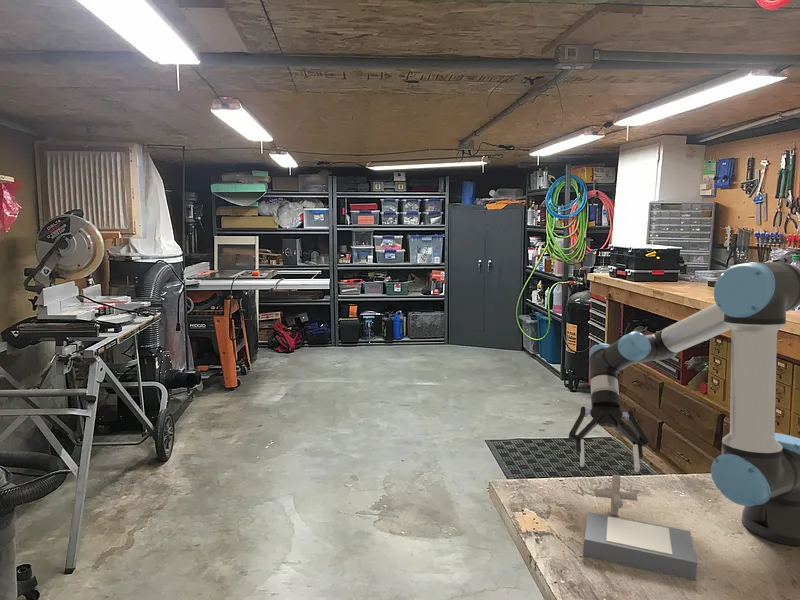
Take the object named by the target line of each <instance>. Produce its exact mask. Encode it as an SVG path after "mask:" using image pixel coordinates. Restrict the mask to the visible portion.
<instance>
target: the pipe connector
mask: <svg viewBox="0 0 800 600" xmlns="http://www.w3.org/2000/svg"><path fill="white" fill-rule="evenodd" d="M621 479H622V478H621V475H619V474H613V475H612V482H610V483H609V484H608V485H607V486H608V490H607V489H597V488H594V491H593V494H594V495H593V496H594V497H599V498H607V499H610V501H611V502H610V515H611V516H619V509H621V508H623V506H624V503H623V500H627V501H638V493H637V492H628V491H621Z"/></svg>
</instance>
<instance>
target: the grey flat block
mask: <svg viewBox="0 0 800 600" xmlns="http://www.w3.org/2000/svg"><path fill="white" fill-rule="evenodd" d="M584 532H585V533H584V537H583V538H584V541H583V555H582V556H583V557H585V558H590V559H595V560H599V561H603V562H609V563H612V564H618V565H620V566H621V565H622V566H625V567H626V566H627V567H631V568H634V569H635V568H636V569H640V570H645V571H648V572H649V571H650V572H654V573H658V574H663V575H667V576H672V577H677V578H682V579H685V580H690V581H694V582H695V581H696V580H697V568H698V561H697V557H696V552H695V546H694V542H693V541H694V540H693V539H692V533H691V530H686V529H683V528H682V529H680V528H677V527H671V526H665V525H662V524H661V525H660V524H656V523H649V522H645V521H639V520H634V519H628V518H624V517H620V516H619V517H618V516H615V515H609V514H605V513H604V514H603V513H598V512H593V511H587V516H586V524H585V531H584Z"/></svg>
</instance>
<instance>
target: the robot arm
mask: <svg viewBox="0 0 800 600" xmlns="http://www.w3.org/2000/svg"><path fill="white" fill-rule="evenodd" d="M713 299H714V302H715V303H713V304H711V305H709V306H708V307H705V308H703V309H701V310H699V311H697V312H695V313H693V314H691V315H689V316H688V317H685V318H683V319H681V320H679V321H677V322H675V323H673V324H670V325H669V326H667V327H664V328H663V329H661V330H659V331H657V332H655V333H651V334H646V335H645V334H643V333H640V332H639V331H631V332H629V333H628V334H624V335H622V336H621V337H620V338H619V339H617V340H616V341H615V342H612V343H611V344H608V343H599V344H595V345H593V346H592V347H591V348H590V349H589V352H588V353H589V358H588V363H589V378H590V379H589V380H590V395H591V396H590V401H591V409H590V408H589V409H588V408H586V407H585V406H581V408H580V412H579V415H578V417H577V419H576V421H575V422H574V424H573V426H572V428H571V429H570V431H569V433H568V439H569V440H570V441H573V442H574V443H575V453H576V454H579V464H580V467H581V468H583V467H584V466H585V443H584V442H585V441H584V438H585V437H586V436H587V435H588V434H589V433H590V432H591V431H592V430H593V429H594V428H596V427H597V425H599V426H600V427H608V428H613V427H615V429H616V430H618V431H619V432H621V434H622V435H623V436H624V437H625V438H627V439H628V441H629V442H630V443H632V445H633V447H632V455H633V466H634V472H635V473H639V471H640V470H641V466H640V465H641V464H640V460H642V458H643V456H644V453H643V447H644V448H646V447H648V444H649V442H650V440H649V438H648V437H647V435H646V434H645V432H644V430H643V429H642V428H641V426H640V425H639V423H638V422H637V420H636V418H635V415H634V412H633V411H632V410H631V409H630V410H628V411H622V409H621V400H620V391H619V390H620V389H619V377H618V373H619V372H621V371H623V370H624V369H626V368H628V367H630V366H632V365H634V364H641V363H647V362H655V361H661V360H664V361H665V360H668V359H672V358H674V357H676V356H677V355H678V354H679V352H681V351H684V350H687V349H688V348H689V349H690V348H691V347H693V346H695V345H698V344H701V343H703V342H705V341H707V340H710V339H712V338H714V337H716V336H719V335H721V334H724V333H726V332H728V331H730V330H731V340H730V341H731V343H730V345H731V346H730V349H731V350H730V394H729V395H730V396H729V397H730V399H729V401H730V404H729V405H730V407H729V408H730V409H729V411H730V412H729V432H728V434H726V435H725V436H723V437H722V438H721V439H722V440H721V454H720V455H718V456H717V457H716V458H715V459H714V460H713V461H712V464H711V467H710V475H711V478H712V481H713V483H714V486H715V487H716V488H717V490H719V491H720V493H721V494H722V496H724V497H725V498H726V499H728V501H730V502H732V503H734V504H737V505H739V506H743V509H742V512H741V522H742V524H743V526H744V527H746V528H747V529H748V530H749V531H751V532H752V533H753V534H756V535H757V536H759V537H762V538H764V539H766V540H769V541H772V542H775V543H779V544H783V545H786V546H787V545H788V546H796V547H800V438H799V437H796V436H793V435H789V434H784V433H779V432H775V431H776V430H775V429H776V394H777V392H776V389H777V386H776V385H777V384H776V382H777V354H778V351H777V349H778V348H777V346H778V345H777V344H778V332H779V330H781V329H782V328H783V327H784V326H786V323H787V321H786V319H787V317H786V316H787V312H789V311H792V310H794V309H796V308H797V307H799V306H800V268H798V267H797V266H795V265H793V264H791V263H788V262H787V263H786V262H783V261H774V262H773V261H772V262H753V261H750V262H744V263H740V264H735V265H732V266H731V267H730V266H729V267H728V268H727V269H725V270H724V271H723V273H721V274H720V276H718V278H717V280H716V282H715V284H714V287H713ZM589 415H590V417H591V420H590V421H589V423H588V424H586V426H585V427H583V428H582V429H581V431H580V432H579V433H578V434H577V432H578V431H579V429H580V426H581V425H582V423H583V422H584V420H585V419H584V418H586V417H588V416H589ZM622 418H624V420H625V421H627V422H628V424H629V426H630V428H631V429H632V430H631V429H630V428H629V427H628V426H627V425H626V424H625V423H624V421H623V420H622Z"/></svg>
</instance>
